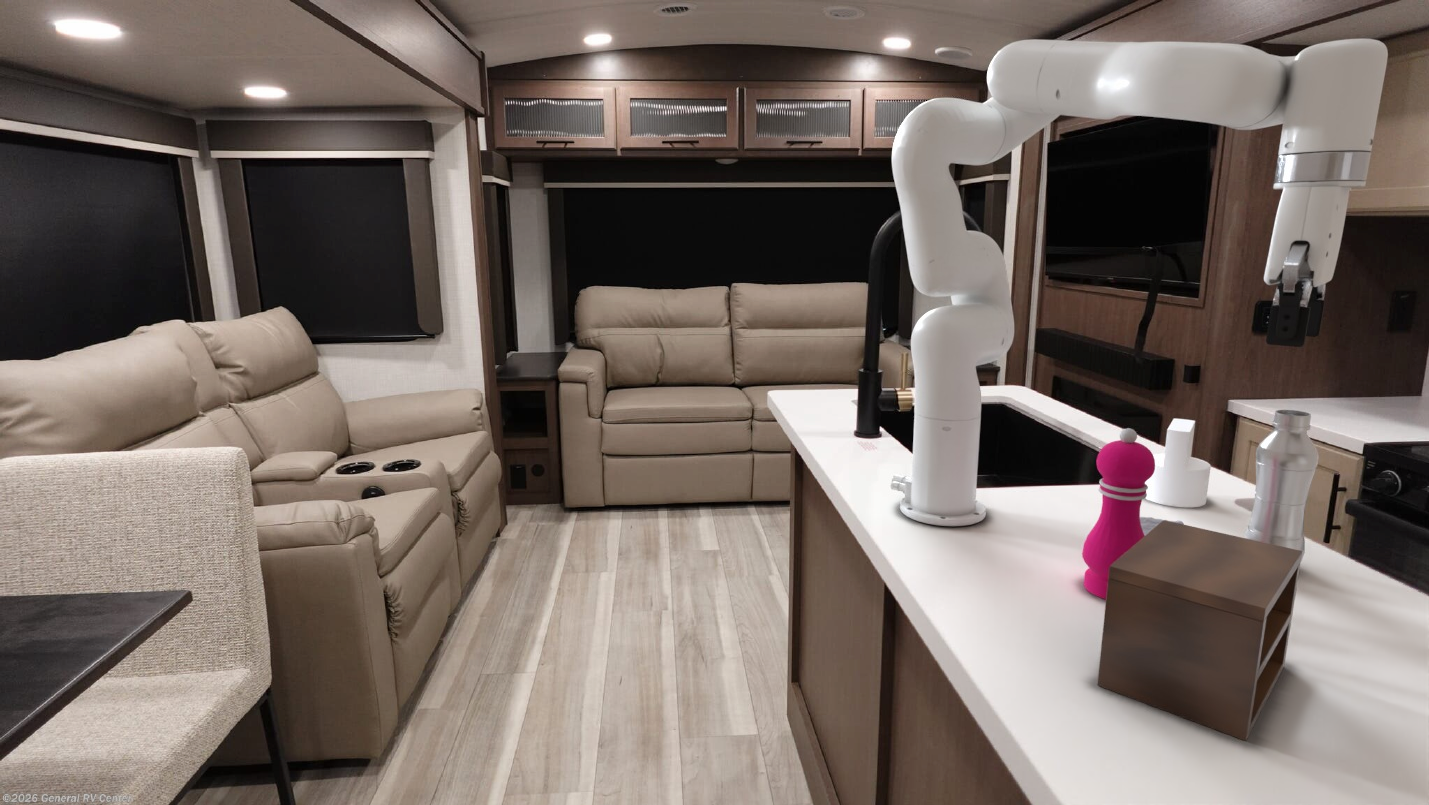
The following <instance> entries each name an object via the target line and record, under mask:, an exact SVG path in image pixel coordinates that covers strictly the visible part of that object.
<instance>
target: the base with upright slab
mask: <svg viewBox="0 0 1429 805" xmlns="http://www.w3.org/2000/svg"><path fill="white" fill-rule="evenodd" d="M1195 428H1196V420H1194V419H1193V420H1192V419H1186V418H1185V419H1184V418H1172V421H1171V422H1170V423H1169V426H1168V428H1167V429H1166V436H1165V445H1164V453H1154V454H1153V453H1152V454H1153V456H1154V459H1155V471H1154V473H1153V475H1152V476H1151V477H1150V478H1149V479H1148V480H1147V481H1146V482H1145V484H1146V485H1147V486H1148V489H1147V490H1146V493H1147V497H1146V498H1145V499H1146V500H1147V501H1149V502H1152V503H1156V504H1160V505H1162V506H1168V507H1175V508H1186V509H1187V508H1200V507H1203V506H1205V505H1206V504H1207V499H1208V490H1209V482H1210V475H1211V474H1210V473H1211V468H1212V467H1211V463H1209V462H1208V461H1206V460H1203V459H1200V458H1197V457H1193V456H1192V453H1193V452H1192V451H1193V443H1194V436H1195V435H1194V434H1195Z"/></svg>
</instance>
